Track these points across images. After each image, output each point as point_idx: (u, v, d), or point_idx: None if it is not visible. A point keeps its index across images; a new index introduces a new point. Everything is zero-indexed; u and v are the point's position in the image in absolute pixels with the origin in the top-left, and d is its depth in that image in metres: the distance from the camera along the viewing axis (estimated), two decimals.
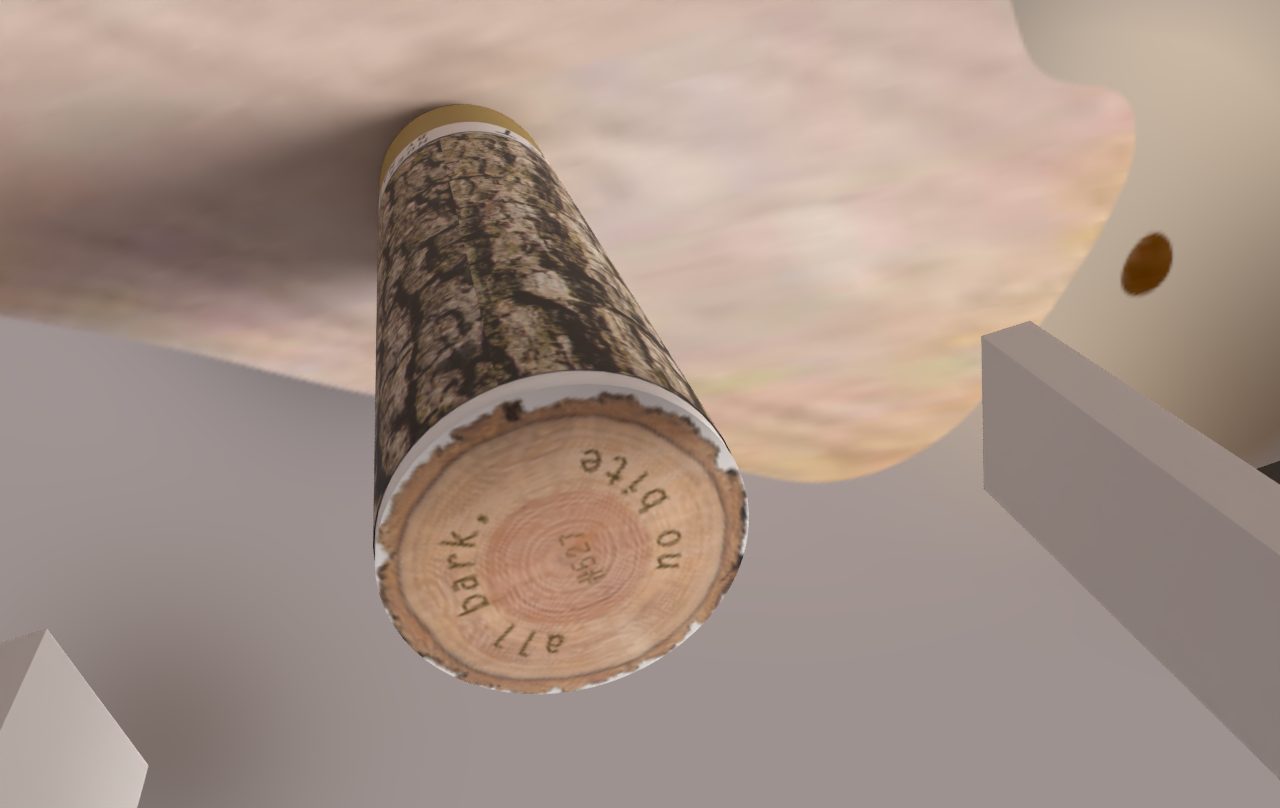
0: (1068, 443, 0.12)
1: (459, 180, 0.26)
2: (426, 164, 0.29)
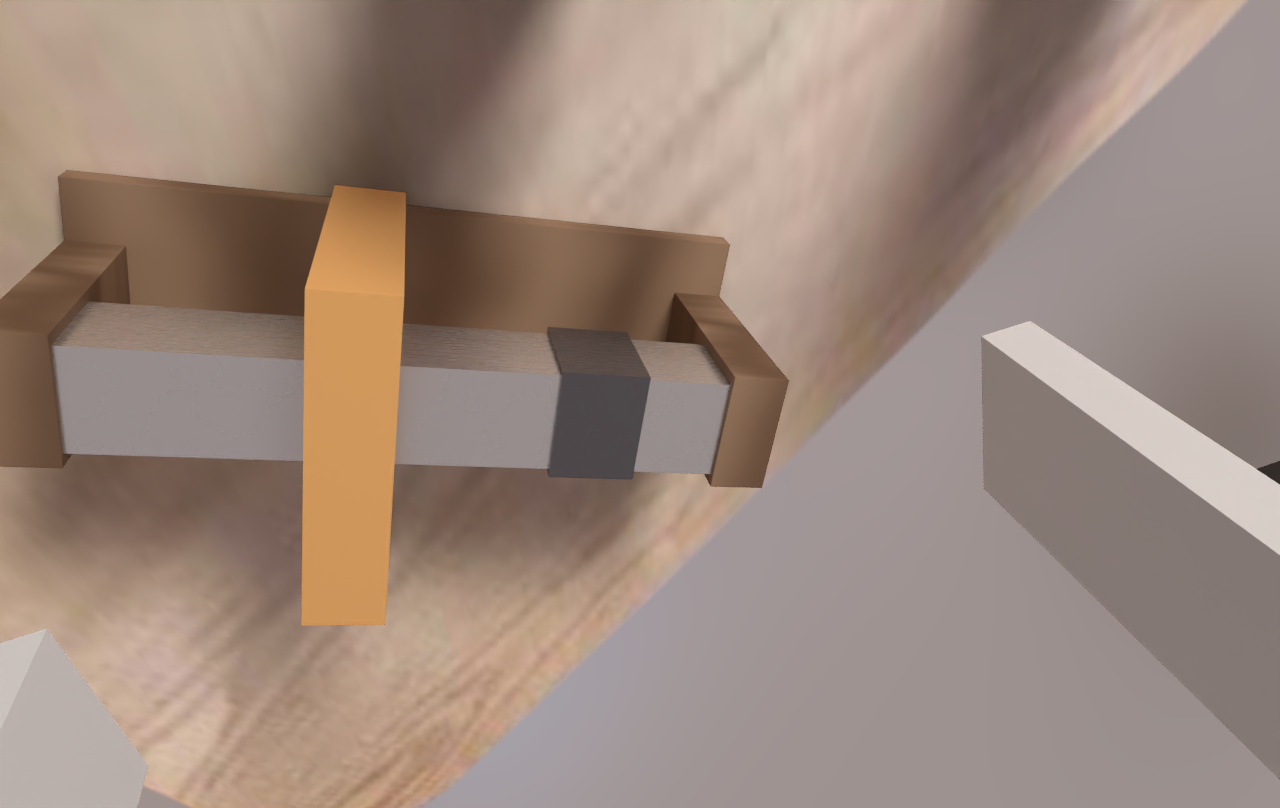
0: (1069, 443, 0.12)
1: None
2: None
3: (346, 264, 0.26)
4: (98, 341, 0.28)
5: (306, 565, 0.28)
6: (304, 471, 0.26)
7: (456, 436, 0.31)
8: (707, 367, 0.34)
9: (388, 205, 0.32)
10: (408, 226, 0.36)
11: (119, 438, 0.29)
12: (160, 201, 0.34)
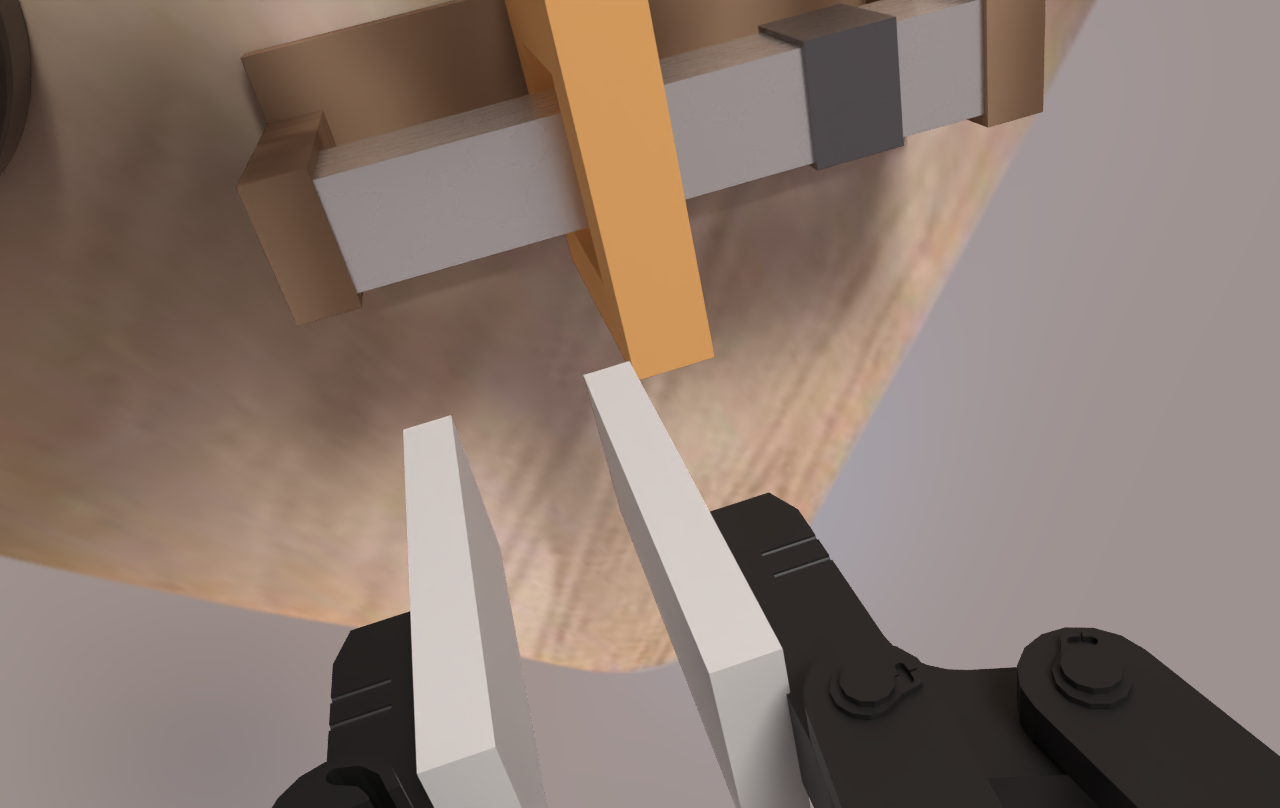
0: (620, 474, 0.13)
1: None
2: None
3: None
4: (351, 166, 0.27)
5: (624, 313, 0.27)
6: (595, 206, 0.25)
7: (713, 155, 0.29)
8: None
9: None
10: None
11: (401, 261, 0.28)
12: (338, 50, 0.33)
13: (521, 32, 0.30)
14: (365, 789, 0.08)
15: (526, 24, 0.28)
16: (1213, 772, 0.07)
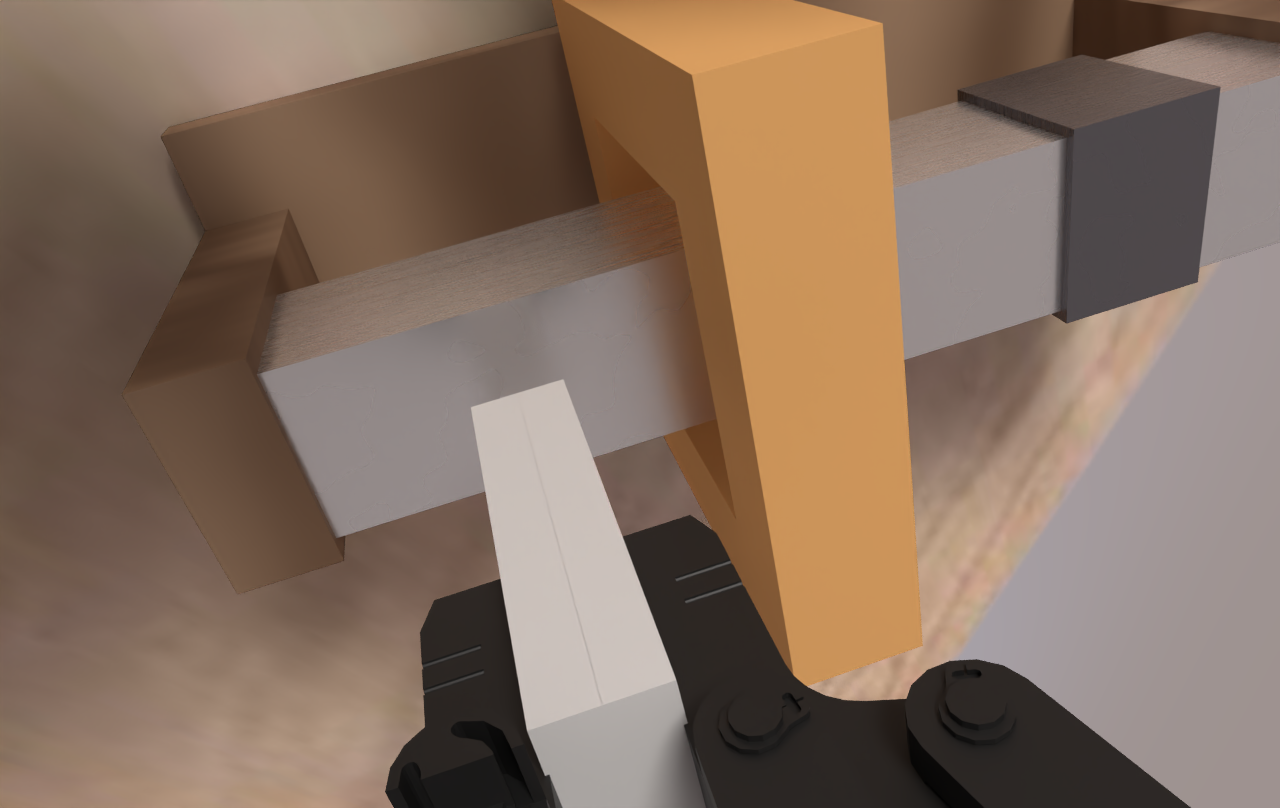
0: None
1: None
2: None
3: (705, 33, 0.13)
4: (324, 344, 0.16)
5: (787, 597, 0.16)
6: (757, 442, 0.14)
7: (911, 307, 0.18)
8: (1268, 50, 0.19)
9: None
10: None
11: (408, 487, 0.17)
12: (310, 122, 0.22)
13: (597, 104, 0.19)
14: (486, 744, 0.08)
15: (615, 101, 0.17)
16: (1095, 803, 0.07)
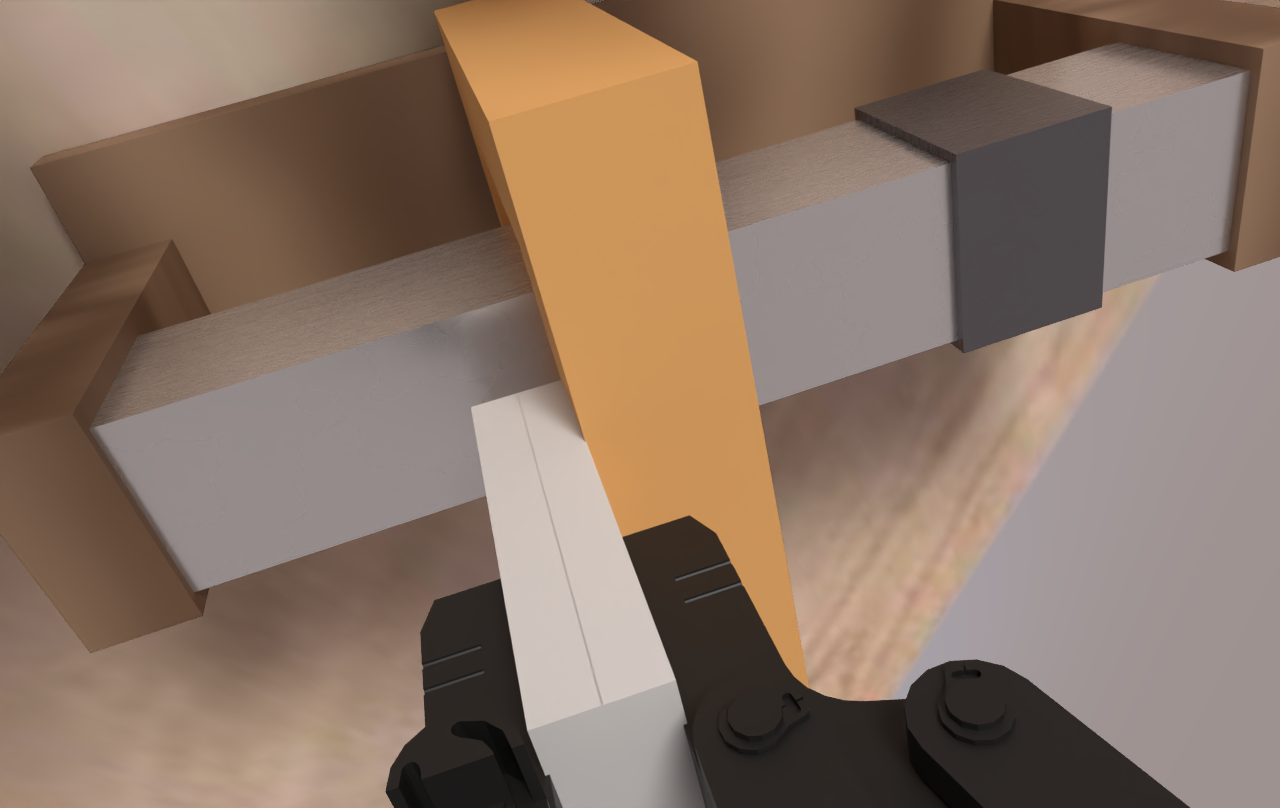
0: None
1: None
2: None
3: (535, 67, 0.13)
4: (164, 394, 0.15)
5: None
6: None
7: (795, 340, 0.17)
8: (1172, 64, 0.18)
9: None
10: None
11: (267, 538, 0.17)
12: (189, 149, 0.21)
13: (474, 130, 0.18)
14: (487, 744, 0.08)
15: (477, 131, 0.16)
16: (1095, 803, 0.07)
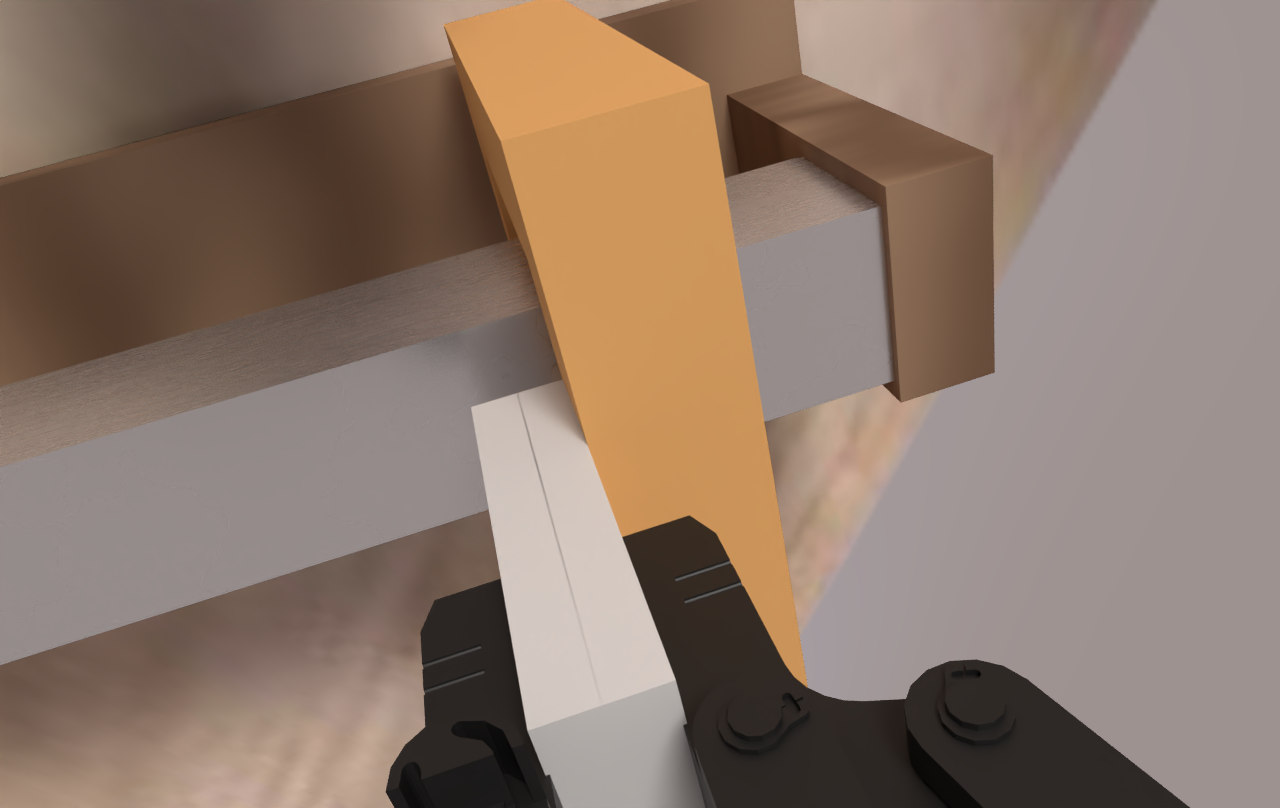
0: None
1: None
2: None
3: (546, 85, 0.13)
4: None
5: None
6: None
7: (410, 479, 0.17)
8: (823, 191, 0.17)
9: (545, 11, 0.18)
10: (253, 146, 0.21)
11: None
12: None
13: (483, 144, 0.18)
14: (487, 743, 0.08)
15: (486, 146, 0.16)
16: (1095, 804, 0.07)
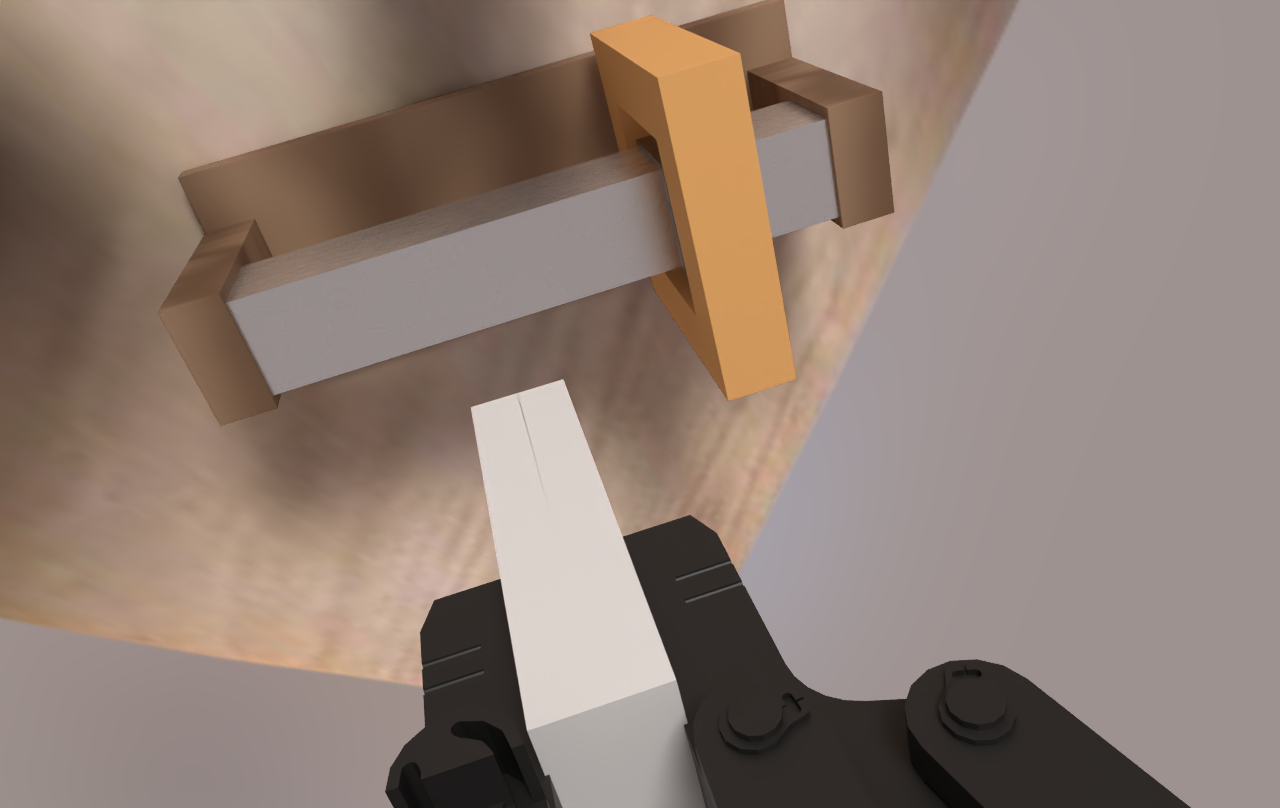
0: None
1: None
2: None
3: (667, 58, 0.28)
4: (260, 287, 0.31)
5: (719, 343, 0.31)
6: (697, 253, 0.29)
7: (588, 264, 0.32)
8: (798, 114, 0.33)
9: (649, 24, 0.34)
10: (479, 105, 0.37)
11: (310, 366, 0.32)
12: (265, 166, 0.36)
13: (617, 96, 0.34)
14: (486, 744, 0.08)
15: (627, 93, 0.32)
16: (1095, 804, 0.07)
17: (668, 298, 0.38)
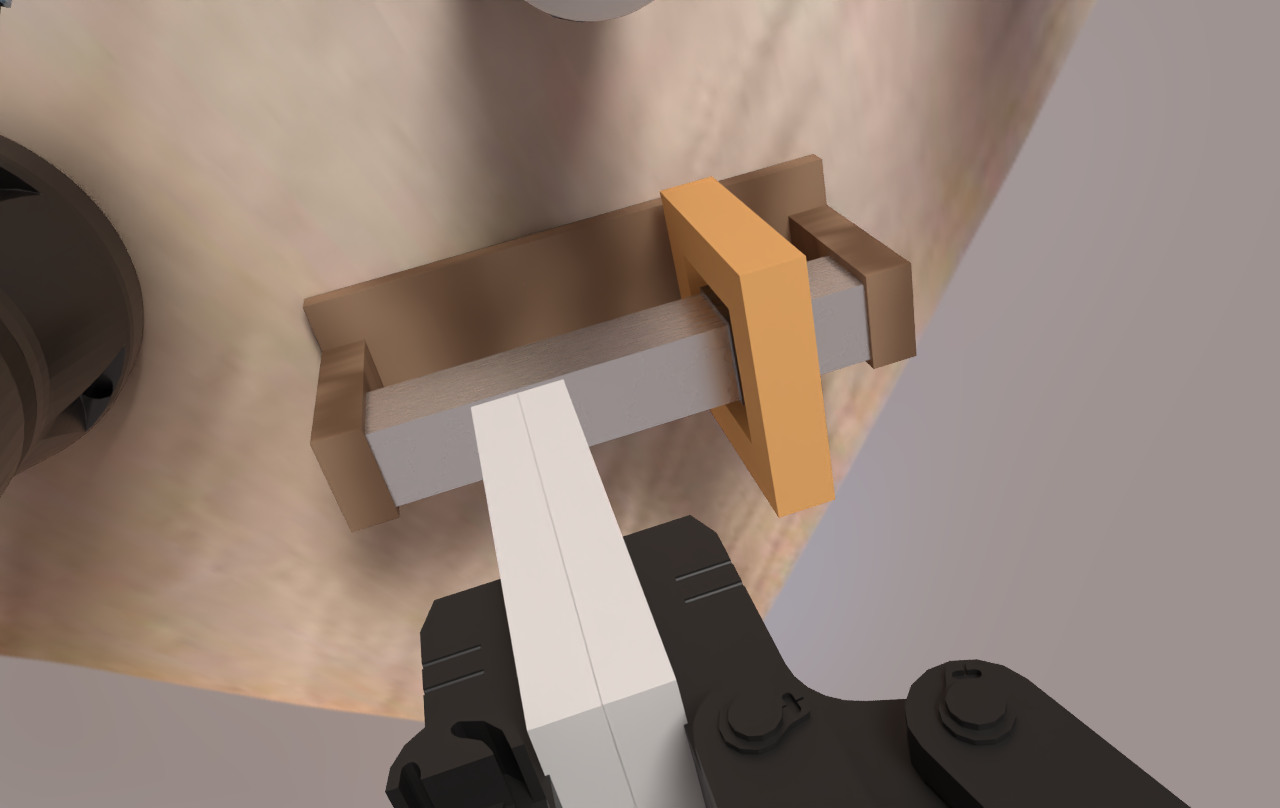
0: None
1: None
2: None
3: (741, 248, 0.35)
4: (392, 420, 0.37)
5: (774, 473, 0.37)
6: (761, 405, 0.36)
7: (663, 399, 0.39)
8: (839, 275, 0.40)
9: (714, 192, 0.41)
10: (560, 246, 0.43)
11: (429, 483, 0.38)
12: (377, 297, 0.42)
13: (686, 252, 0.40)
14: (487, 744, 0.08)
15: (699, 258, 0.38)
16: (1095, 803, 0.07)
17: (718, 412, 0.44)
